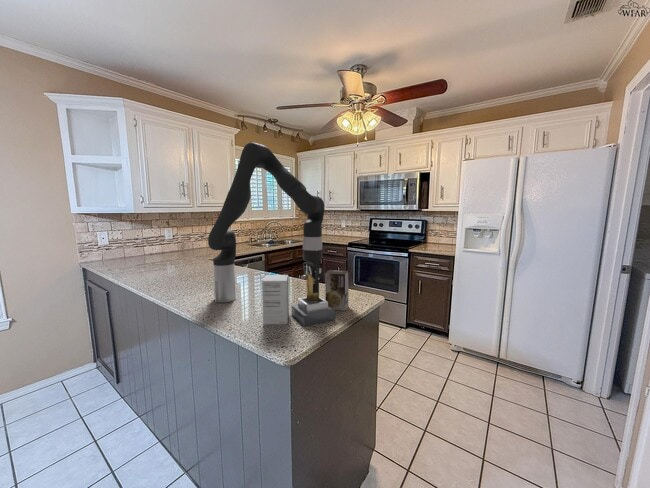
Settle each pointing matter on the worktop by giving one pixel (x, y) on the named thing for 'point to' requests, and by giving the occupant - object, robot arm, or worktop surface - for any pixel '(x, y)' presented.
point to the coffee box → (337, 289)
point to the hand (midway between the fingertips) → (312, 290)
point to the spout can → (310, 288)
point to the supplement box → (275, 299)
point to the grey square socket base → (312, 311)
